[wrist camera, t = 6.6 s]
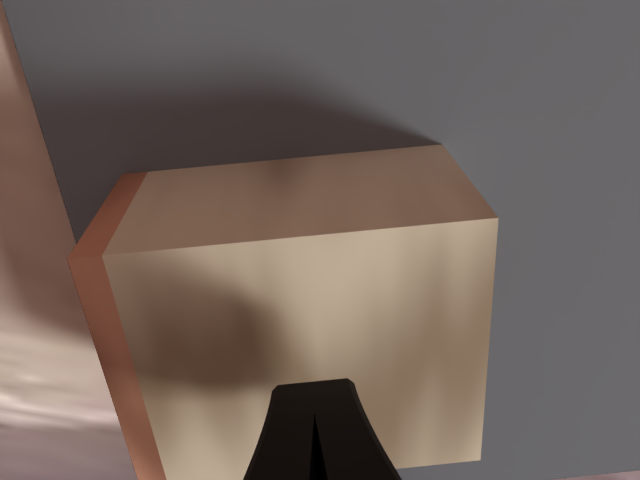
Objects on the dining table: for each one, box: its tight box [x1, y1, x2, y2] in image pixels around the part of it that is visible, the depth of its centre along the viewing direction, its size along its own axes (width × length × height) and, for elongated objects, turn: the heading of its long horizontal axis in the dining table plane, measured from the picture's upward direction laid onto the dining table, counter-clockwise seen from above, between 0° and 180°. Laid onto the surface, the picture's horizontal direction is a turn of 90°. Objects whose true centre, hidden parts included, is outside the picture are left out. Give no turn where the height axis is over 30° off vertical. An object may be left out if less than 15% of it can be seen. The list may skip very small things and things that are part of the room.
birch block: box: [67, 144, 499, 480], centre depth 13 cm, size 6×4×8 cm
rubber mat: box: [2, 0, 640, 480], centre depth 15 cm, size 18×16×1 cm
